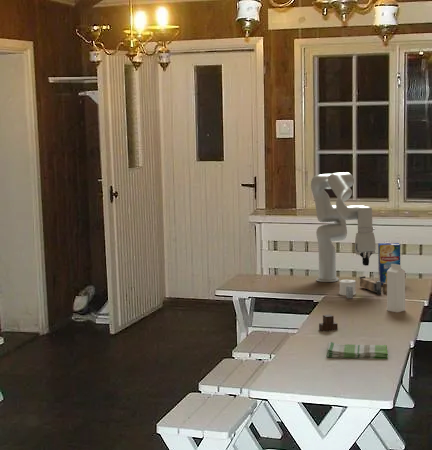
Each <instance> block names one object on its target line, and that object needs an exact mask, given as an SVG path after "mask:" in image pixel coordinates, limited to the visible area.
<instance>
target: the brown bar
mask: <svg viewBox="0 0 432 450" xmlns="http://www.w3.org/2000/svg"><path fill="white" fill-rule="evenodd" d="M358 278H359V286H360V287H361V288H364V289H367V290H369V291H371V292H373V293H376V281H374V280H372V279H369V278H366V276H365V275H361V276H359V277H358Z"/></svg>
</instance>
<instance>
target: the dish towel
mask: <svg viewBox="0 0 432 450" xmlns="http://www.w3.org/2000/svg"><path fill="white" fill-rule="evenodd" d="M387 347H388V346H387V345H386V344H382V345H381V344H352V343H351V344H348V343H347V344H343V343H342V344H341V343H335V342H333V341H330V342H328V343H327V353H326V354H325V355H326V358H327V359H330V358H332V359H365V360H368V359H369V360H388V356H389V355H388V354H389V353H388V348H387Z"/></svg>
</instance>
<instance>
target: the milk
mask: <svg viewBox="0 0 432 450" xmlns="http://www.w3.org/2000/svg"><path fill="white" fill-rule="evenodd" d="M386 310H387V311H388V312H392V313H400V312H405V311H406V271H405V270H404V269H403V268H402V265H401V264H400V265H397V264H391V267H390V268H389V269H388V270H387V294H386Z"/></svg>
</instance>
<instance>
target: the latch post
mask: <svg viewBox="0 0 432 450" xmlns="http://www.w3.org/2000/svg"><path fill="white" fill-rule="evenodd" d="M353 298H354V295H353V287H352V286H346V299H349V300H350V299H353Z"/></svg>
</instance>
